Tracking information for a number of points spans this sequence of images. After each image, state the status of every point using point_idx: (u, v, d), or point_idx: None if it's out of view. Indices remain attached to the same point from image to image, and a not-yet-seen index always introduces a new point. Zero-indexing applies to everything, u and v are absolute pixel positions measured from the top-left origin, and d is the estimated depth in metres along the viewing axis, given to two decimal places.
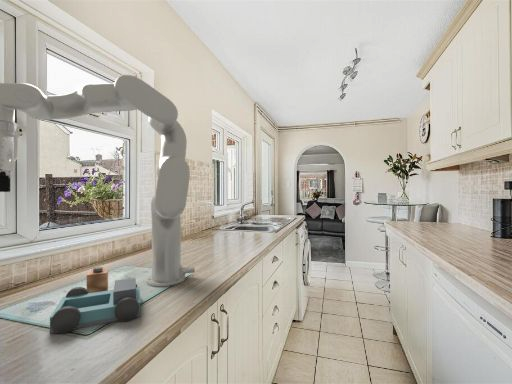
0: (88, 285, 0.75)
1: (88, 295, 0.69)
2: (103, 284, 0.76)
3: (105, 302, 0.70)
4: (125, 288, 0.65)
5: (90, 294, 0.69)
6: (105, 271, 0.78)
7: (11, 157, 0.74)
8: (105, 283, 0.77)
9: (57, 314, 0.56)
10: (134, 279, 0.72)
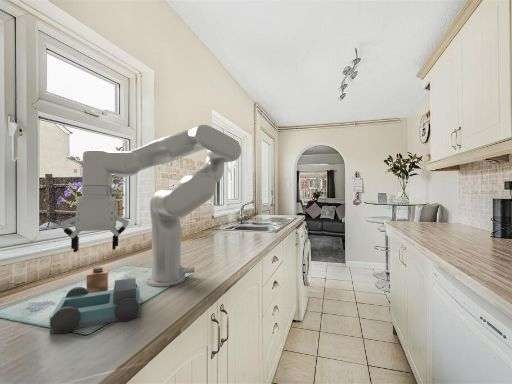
0: (88, 285, 0.75)
1: (88, 295, 0.69)
2: (103, 284, 0.76)
3: (105, 302, 0.70)
4: (125, 288, 0.65)
5: (90, 294, 0.69)
6: (105, 271, 0.78)
7: None
8: (105, 283, 0.77)
9: (57, 314, 0.56)
10: (134, 279, 0.72)
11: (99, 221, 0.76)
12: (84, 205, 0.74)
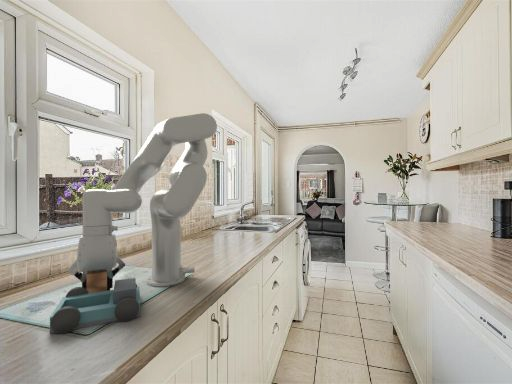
0: (88, 285, 0.75)
1: (88, 295, 0.69)
2: (103, 284, 0.76)
3: (105, 302, 0.70)
4: (125, 288, 0.65)
5: (90, 294, 0.69)
6: (105, 271, 0.78)
7: None
8: (105, 283, 0.77)
9: (57, 314, 0.56)
10: (134, 279, 0.72)
11: (100, 261, 0.76)
12: (85, 246, 0.74)
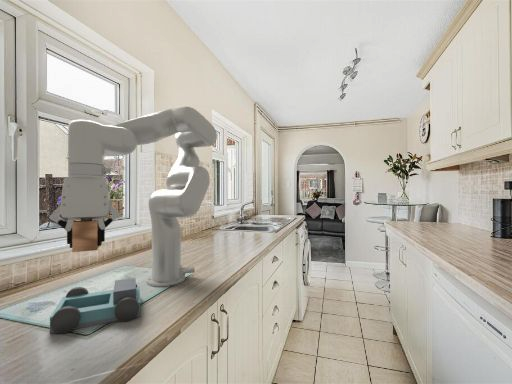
0: (74, 235, 0.62)
1: (88, 295, 0.69)
2: (93, 235, 0.63)
3: (105, 302, 0.70)
4: (125, 288, 0.65)
5: (90, 294, 0.69)
6: (95, 220, 0.65)
7: None
8: (95, 234, 0.63)
9: (57, 314, 0.56)
10: (134, 279, 0.72)
11: (89, 207, 0.63)
12: (70, 187, 0.61)
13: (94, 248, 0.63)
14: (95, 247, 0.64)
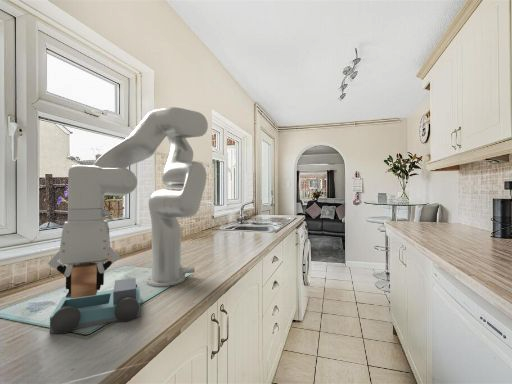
0: (73, 281, 0.61)
1: None
2: (92, 280, 0.63)
3: (105, 302, 0.70)
4: (125, 288, 0.65)
5: None
6: (94, 264, 0.65)
7: None
8: (94, 278, 0.63)
9: (57, 314, 0.56)
10: (134, 279, 0.72)
11: (88, 252, 0.63)
12: (70, 233, 0.61)
13: (93, 293, 0.63)
14: (94, 292, 0.63)
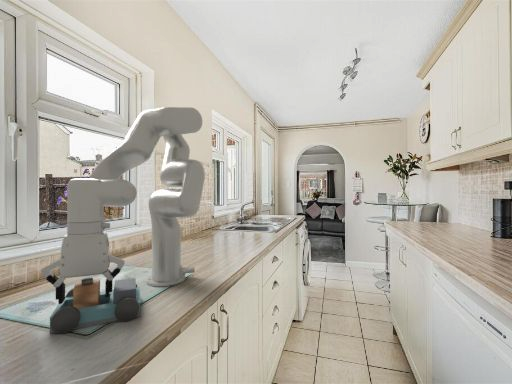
0: (75, 300, 0.62)
1: None
2: (93, 299, 0.63)
3: (105, 302, 0.70)
4: (125, 288, 0.65)
5: None
6: (96, 283, 0.65)
7: None
8: (96, 297, 0.64)
9: (57, 314, 0.56)
10: (134, 279, 0.72)
11: (88, 265, 0.63)
12: (69, 247, 0.61)
13: None
14: None
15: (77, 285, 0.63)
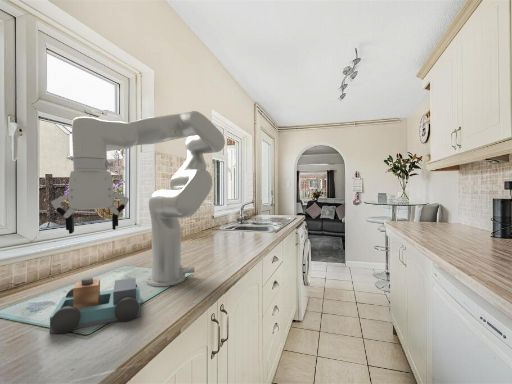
0: (75, 300, 0.62)
1: None
2: (93, 299, 0.63)
3: (105, 302, 0.70)
4: (125, 288, 0.65)
5: None
6: (96, 283, 0.65)
7: None
8: (96, 297, 0.64)
9: (57, 314, 0.56)
10: (134, 279, 0.72)
11: (95, 198, 0.68)
12: (77, 181, 0.66)
13: None
14: None
15: (77, 285, 0.63)
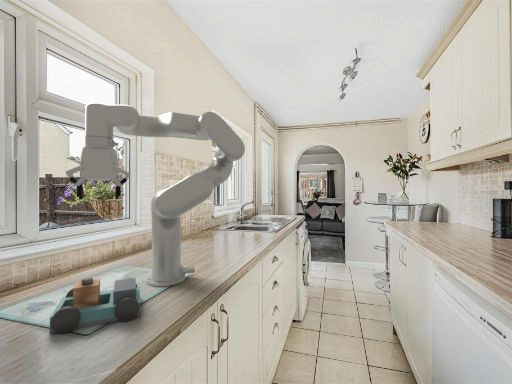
0: (75, 300, 0.62)
1: None
2: (93, 299, 0.63)
3: (105, 302, 0.70)
4: (125, 288, 0.65)
5: None
6: (96, 283, 0.65)
7: None
8: (96, 297, 0.64)
9: (57, 314, 0.56)
10: (134, 279, 0.72)
11: (102, 171, 0.81)
12: (87, 155, 0.79)
13: None
14: None
15: (77, 285, 0.63)
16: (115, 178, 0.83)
